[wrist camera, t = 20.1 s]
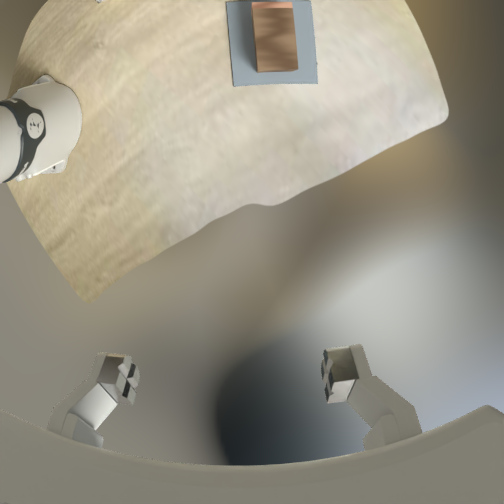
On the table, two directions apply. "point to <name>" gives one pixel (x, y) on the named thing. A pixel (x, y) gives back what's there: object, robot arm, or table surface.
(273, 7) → the walnut block
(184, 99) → the table surface
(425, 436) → the robot arm
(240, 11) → the slate pad
